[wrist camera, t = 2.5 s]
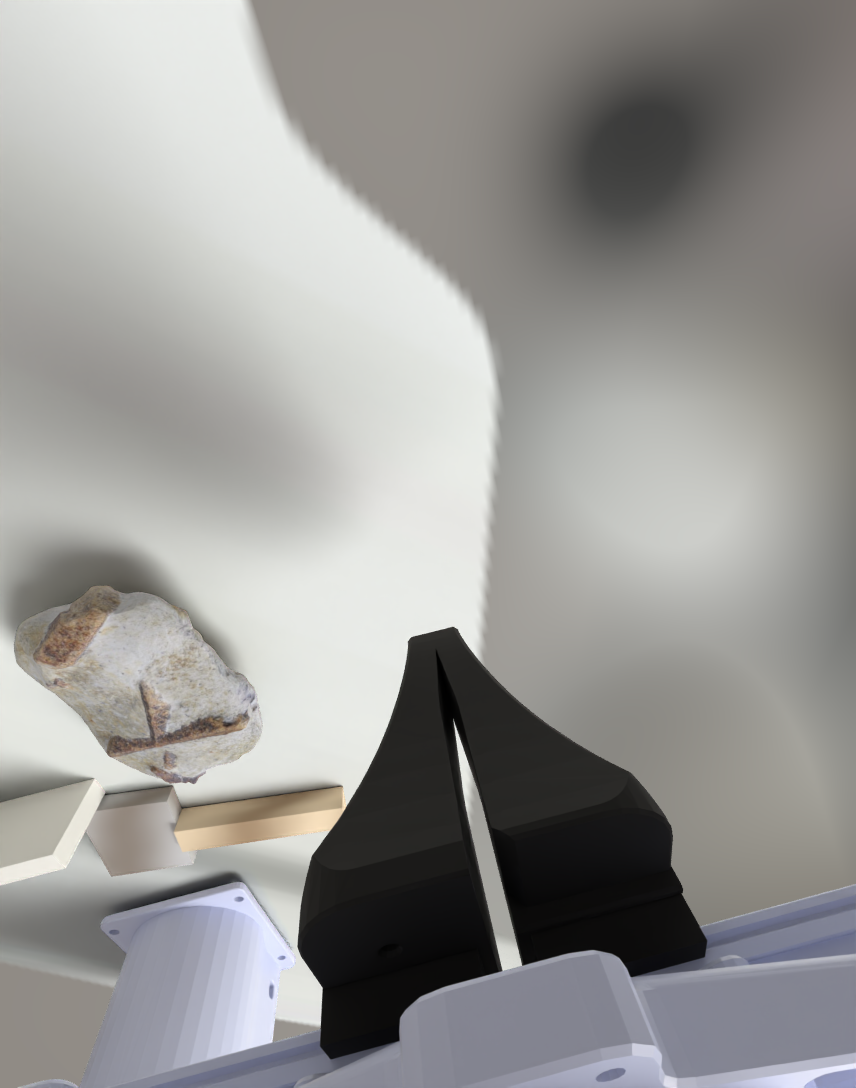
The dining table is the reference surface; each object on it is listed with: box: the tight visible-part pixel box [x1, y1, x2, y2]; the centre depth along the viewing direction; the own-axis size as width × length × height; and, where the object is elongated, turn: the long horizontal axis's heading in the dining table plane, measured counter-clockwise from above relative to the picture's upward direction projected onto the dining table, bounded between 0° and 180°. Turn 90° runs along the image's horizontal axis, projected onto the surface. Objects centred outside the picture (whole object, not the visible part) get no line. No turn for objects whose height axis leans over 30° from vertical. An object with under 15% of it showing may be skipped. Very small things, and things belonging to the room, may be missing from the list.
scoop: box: [86, 786, 346, 877], centre depth 24 cm, size 12×5×1 cm, turn 92°
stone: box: [14, 585, 263, 784], centre depth 18 cm, size 10×7×3 cm
